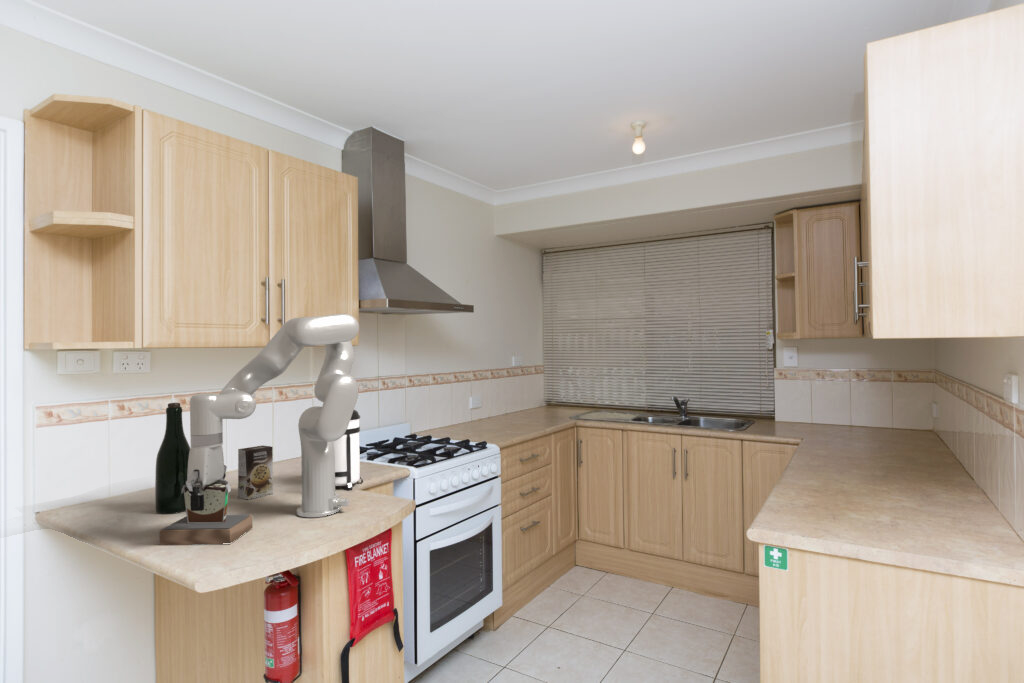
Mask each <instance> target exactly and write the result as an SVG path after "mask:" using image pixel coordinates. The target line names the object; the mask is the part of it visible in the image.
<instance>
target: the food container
mask: <svg viewBox="0 0 1024 683" xmlns="http://www.w3.org/2000/svg"><path fill="white" fill-rule="evenodd" d="M197 488H198V490H199V488H200V487H197ZM187 489H188V488H187V485H183V488H182V493H184V498H185V506H186V511H185V513H186V516H187V522H188V524H191V523H224V522H225V521H226V515H227V512H228V511H227V510H228V499H229V493H230V492H231V491H232V488H231V485H230V482H229V481H228V480H225V479H224V480H218V481H216V482H214V483H211V484H209V485H207V486H205V487H204V490H203V493H202V495H204V510H202V511H191V501H190V495H189V492H188V490H187Z"/></svg>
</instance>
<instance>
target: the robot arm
mask: <svg viewBox="0 0 1024 683" xmlns="http://www.w3.org/2000/svg"><path fill="white" fill-rule="evenodd" d="M359 332H360V324H359V322H358V320H357V318H355V317H354V316H353V315H352V314H350V313H349V314H348V313H335V314H327V315H320V316H304V317H294V318H290V319H289V320H288V321H286V322H285V323H284V324H283V325H282V326H281V327H280V328H279V329H278V331H276V333H275V334H274V335H273V337H272V338H271V339H270V340H269V342H267V343H266V345H265V346H264V347H263V349H261V351H260V352H258V353H257V355H256V356H255V357H253V358H252V359H251V360H250V361H248V363H247V364H246V365H245V366H243V367H242V368H241V369H240V370H239V371H238V372H236V374H235V375H234V376H232V378H230V380H229V381H228V382H227V384H226V385H225V386H224V387H223V388H222V389H221V391H220V392H218V393H217V392H204V393H198V394H193V395H192V396H191V397H190V398H189V399H190V400H189V423H190V424H189V425H190V427H189V428H190V434H189V436H190V452H189V459H188V474H187V481H186V485H187V488H188V489H187V490H188V492H189V495H190V501H191V511H202V510H204V495H202V493H203V490H204V487H205V486H207V485H209V484H211V483H214V482H216V481H218V480H225V478H226V476H227V475H226V472H227V468H228V466H227V465H225V458H224V457H225V456H224V449H223V446H224V441H223V439H224V436H223V435H224V433H223V430H224V428H223V427H224V426H223V425H224V424H223V420H242V419H247V418H248V417H250V416H252V415H253V413H255V411H256V408H257V401H256V399H255V397H254V396H253V395H254V394H255V392H256V391H257V390H259V388H261V386H263V385H265V384H266V383H268V382H269V381H271V380H274V379H276V378H277V377H279V376H281V375H282V374H284V372H285V371H286V370H287V369H288V368H289V367H290V365H291V364H292V362H294V360H295V359H296V358H297V357H298V355H299V354H300V353H301V352H302V350H303V349H304V348H305V347H318V346H324V348H325V354H324V355H325V356H324V359H323V364H322V365H321V366H322V367H321V368H320V371H319V373H318V377H317V379H316V382H315V386H314V390H313V393H314V396H315V398H316V399H317V400H318V401H320V402H322V406H316V405H315V406H310V407H308V408H307V409H304V411H302V413H301V414H300V416H299V419H298V433H299V441H300V450H301V457H300V458H301V460H300V461H301V462H300V463H301V506H299V507H297V509H296V515H297V516H299V517H303V518H322V517H326V516H327V515H328V516H331V514H332V515H334V513H335V514H336V512H337V513H338V512H340V511H341V509H342V507H349V506H350V505H349V504H350V500H349V499H348V498H347V497H346V498H340V497H339V493H336V486H335V449H334V442H333V441H336V440H338V439H340V438H341V437H342V436H343V435H344V433H345V432H346V430H347V428H348V425H349V422H350V419H351V416H352V413H353V410H355V407H356V404H357V401H358V397H359V385H358V382H357V381H356V379H355V378H354V376H352V375H351V370H352V367H353V364H354V361H355V360H354V359H355V353H354V352H355V351H354V350H355V349H354V347H353V343H352V341H353V340H354V339H355V338H356V337H357V336H358V334H359ZM197 487H200V488H199V490H198V488H197ZM339 510H340V511H339Z"/></svg>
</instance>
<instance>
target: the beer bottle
mask: <svg viewBox="0 0 1024 683" xmlns="http://www.w3.org/2000/svg"><path fill="white" fill-rule="evenodd" d="M165 414H166V415H165V417H166V418H165V419H166V421H165V430H164V436H163V438H162V441H161V444H160V446H159V450H158V451H157V454H156V459H155V474H154V475H155V476H154V477H155V480H154V481H155V482H154V483H155V487H154V488H155V489H154V492H155V493H154V497H155V498H154V501H155V503H154V505H155V506H154V507H155V511H156V512H157V513H159V514H164V513H167V514H177V513H181V511H182V512H186V511H185V510H186V506H185V498H184V493H182V488H183V485H186V481H187V474H188V459H189V452H190V448H191V445H190V443H189V442H188V439H187V437H186V434H185V431H184V426H183V407H182V406H181V402H170V403H168V404H167V407H166V409H165ZM176 512H177V513H176Z"/></svg>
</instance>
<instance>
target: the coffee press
mask: <svg viewBox="0 0 1024 683" xmlns="http://www.w3.org/2000/svg"><path fill="white" fill-rule="evenodd" d="M360 418H361V415H360V414H359V412H358V411H357V409H354V410H353V413H352V416H351V419H350V422H349V425H348V428H347V430H346V432H345V433H344V435H343V436H342V437H341V438H340V439H338V440H336V441H333V442H334V449H335V487H346V490H347V491H352V490H353V484H356V483H358V484H363V483H364V479H363V478H362V477H361V473H360V472H361V471H360V470H361V468H360V467H361V465H360V464H361V462H360V461H361V460H360V459H361V458H360V457H361V456H360V455H361V454H360V452H361V451H360V450H361V449H360V432H361V426H360ZM359 480H361V481H360V482H359Z"/></svg>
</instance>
